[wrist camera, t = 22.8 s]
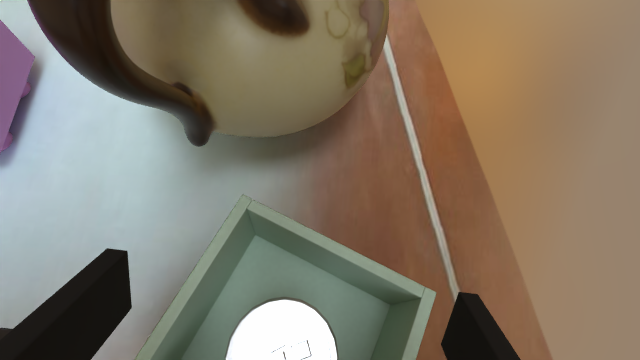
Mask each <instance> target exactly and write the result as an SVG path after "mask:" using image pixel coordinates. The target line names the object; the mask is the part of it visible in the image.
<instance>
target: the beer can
mask: <svg viewBox="0 0 640 360" xmlns="http://www.w3.org/2000/svg"><path fill="white" fill-rule="evenodd" d="M338 359H339V354H338V348H337V342H336V336H335V334H334V332H333V330H332V328H331V326H330V324H329V322H328V320H327V319H326V318H325V317H324V316H323V315H322V313H321V312H320V311H319V310H318V309H317V308H316V307H314V306H312V305H311V304H309V303H307V302H305V301H303V300H302V299H297V298H291V297H278V298H272V299H268V300H266V301H264V302H262V303H260V304H258V305H256V306H254V307H252V308H251V309H250V310H249V311H248V312H247V313H246V314H245V315H244V316H243V317H242V318H241V319H240V320H239V321H238V323H237V325H236V327H235V328H234V330H233V332H232V334H231V335H230V337H229V341H228V345H227V349H226V353H225V360H338Z"/></svg>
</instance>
